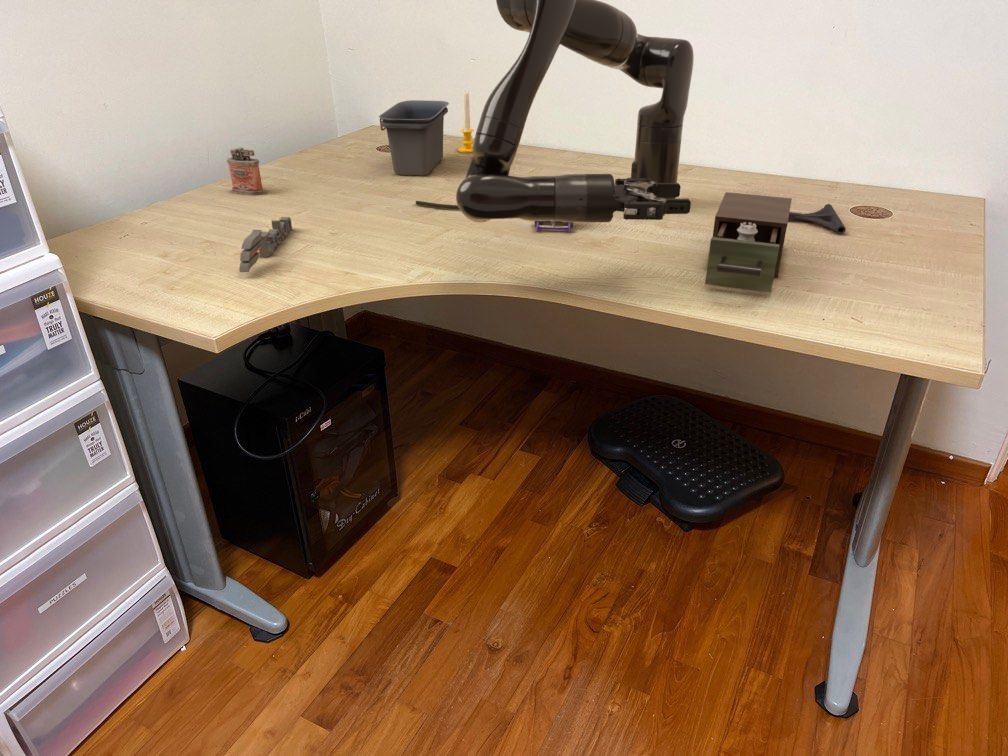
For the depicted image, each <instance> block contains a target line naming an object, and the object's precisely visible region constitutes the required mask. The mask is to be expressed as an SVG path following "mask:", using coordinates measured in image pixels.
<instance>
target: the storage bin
mask: <svg viewBox="0 0 1008 756" xmlns="http://www.w3.org/2000/svg"><path fill="white" fill-rule="evenodd" d="M449 105H450V103H449V102H448V101H443V100H421V99H420V100H417V99H416V100H415V99H413V100H412V99H411V100H404V101H403V100H402V101H399V102H397V103H396V104H394V105H392V106H391V107H390V108H387V110H385V111H384V112H383V113H380V115H378V118H379V126H380V131H382V132H383V131H385V130H386V135H387V140H388V145H389V151H390V156H391V162H392V168H393V172H394V174H396V175H398V176H423V177H424V176H428V175H429V173H430V172H431V171H432V170H433V169H434V168H436V166H437V165H438V163H440V161H442V159H443V158H444V121H445V115H446V114H447V113H449V109H448V106H449Z"/></svg>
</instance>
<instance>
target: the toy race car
mask: <svg viewBox="0 0 1008 756" xmlns="http://www.w3.org/2000/svg"><path fill="white" fill-rule="evenodd" d="M544 224H552V225H544ZM556 224H564V225H556ZM534 227H535V228H536V232H539V231H567V232H568V233H571V228H574V222H561V221H534Z"/></svg>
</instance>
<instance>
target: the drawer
mask: <svg viewBox="0 0 1008 756" xmlns="http://www.w3.org/2000/svg"><path fill="white" fill-rule="evenodd" d="M740 224H741V223H733V222H723V223H722V225H721V228H720V230H719V233H718V235H717V237H713V236H711V237H710V244H709V251H708V259H707V265H706V272H705V282H704V285H706V286H715V287H723V288H731V289H738V290H745V291H754V292H761V293H768V294H769V293H772V289H773V283H774V278H775V277H774V273H775V267H776V262H777V256H778V251H779V244H776V239H777V233H778V228H779V227H771V226H761V225H756V229H757V231H758V232H757V233H756V234H755V235H754V239H755V241H754V242H753V241H744V240H738V239H737V238H738V237H739V233H738V231H737V229H738V228H739V227H740ZM746 225H748V224H746ZM751 226H753V225H752V224H751Z"/></svg>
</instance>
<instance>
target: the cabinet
mask: <svg viewBox="0 0 1008 756" xmlns="http://www.w3.org/2000/svg"><path fill="white" fill-rule="evenodd" d="M792 200H793V198H791V197H781V196H771V195H761V194H750V193H739V192H729V191H725V193H724V194H723V197H722V199H721V202H720V204H719V207H718V209H717V212H716V213H715V215H714V216H715V217H714V224H713V231H712V237H717V235H718V233H719V230H720V228H721V225H722V223H723V222H733V223H742V224H743V223H744V222H746V224H748V223H752V225H753V224H756V225H761V226H771V227H779V228H778V233H777V239H776V244H779V251H778V256H777V262H776V267H775V273H774V278H775V279H778V277H779V272H780V266H781V260H782V255H783V252H784V251H783V250H784V245H785V239H786V234H787V228H788V223H789V221H788V218H789V212H791V207H792Z"/></svg>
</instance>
